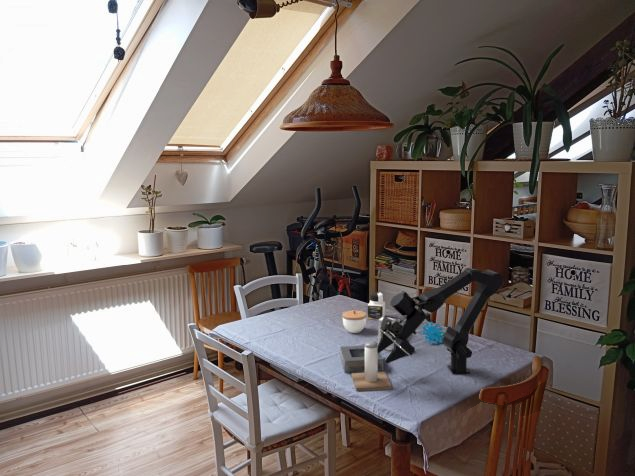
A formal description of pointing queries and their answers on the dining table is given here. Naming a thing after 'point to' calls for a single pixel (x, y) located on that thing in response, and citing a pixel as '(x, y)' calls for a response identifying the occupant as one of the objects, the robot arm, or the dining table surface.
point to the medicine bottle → (376, 306)
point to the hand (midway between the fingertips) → (381, 357)
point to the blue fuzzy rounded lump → (433, 333)
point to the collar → (356, 359)
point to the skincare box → (380, 335)
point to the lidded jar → (354, 320)
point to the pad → (364, 385)
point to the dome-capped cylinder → (371, 361)
